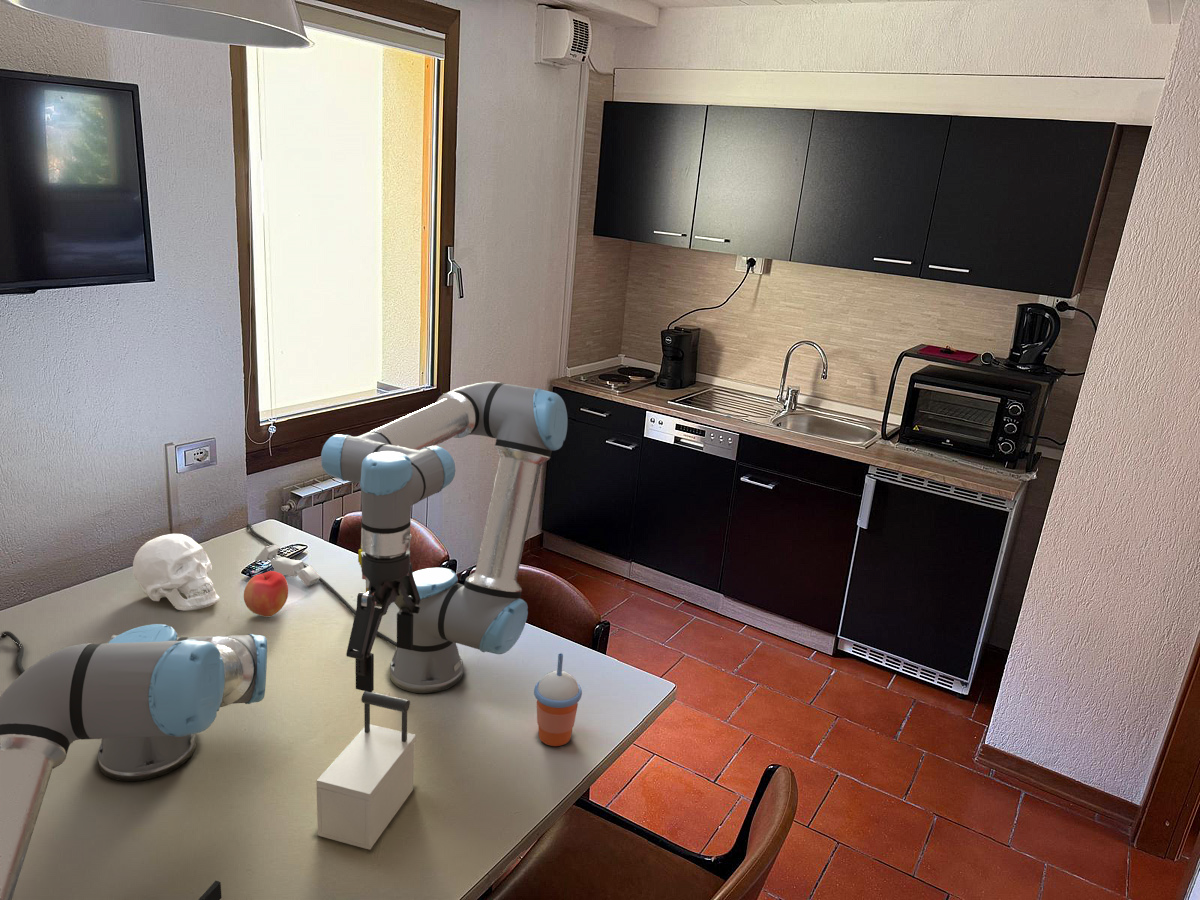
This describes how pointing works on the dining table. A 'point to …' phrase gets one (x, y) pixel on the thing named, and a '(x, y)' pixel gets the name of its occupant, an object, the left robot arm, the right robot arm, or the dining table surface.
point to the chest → (364, 808)
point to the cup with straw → (557, 705)
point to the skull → (175, 571)
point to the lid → (370, 752)
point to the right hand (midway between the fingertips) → (385, 667)
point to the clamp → (288, 565)
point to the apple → (266, 593)
